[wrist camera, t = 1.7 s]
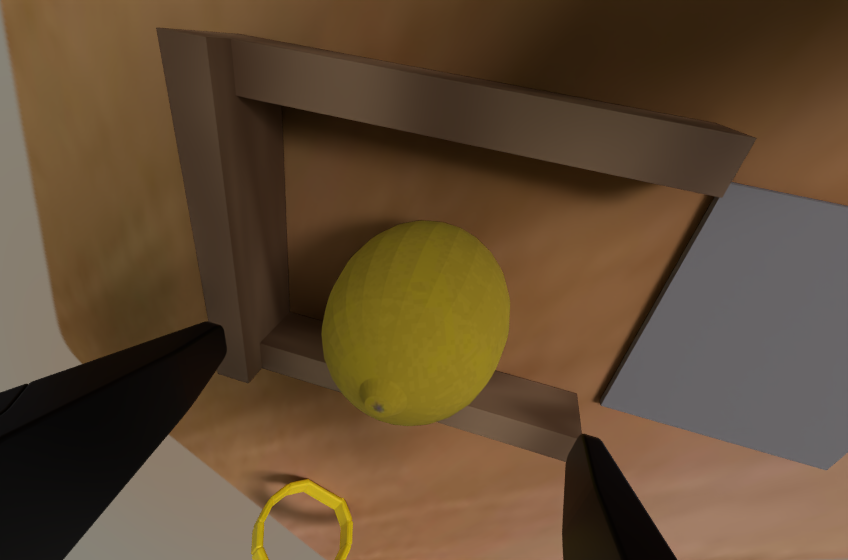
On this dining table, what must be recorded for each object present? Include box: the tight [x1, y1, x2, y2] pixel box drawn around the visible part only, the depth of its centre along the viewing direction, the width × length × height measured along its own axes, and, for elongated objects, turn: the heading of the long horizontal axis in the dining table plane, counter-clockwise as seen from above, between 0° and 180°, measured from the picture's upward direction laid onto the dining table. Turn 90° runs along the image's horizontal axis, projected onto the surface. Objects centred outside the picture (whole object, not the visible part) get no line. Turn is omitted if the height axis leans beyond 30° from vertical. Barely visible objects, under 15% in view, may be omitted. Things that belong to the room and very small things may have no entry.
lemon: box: [321, 220, 510, 426], centre depth 12 cm, size 6×6×8 cm
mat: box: [600, 182, 848, 470], centre depth 14 cm, size 9×10×1 cm
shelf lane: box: [156, 28, 756, 462], centre depth 14 cm, size 16×13×4 cm
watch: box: [251, 479, 353, 560], centre depth 24 cm, size 6×3×6 cm, turn 60°
